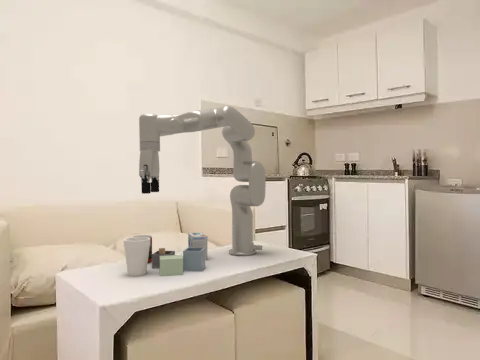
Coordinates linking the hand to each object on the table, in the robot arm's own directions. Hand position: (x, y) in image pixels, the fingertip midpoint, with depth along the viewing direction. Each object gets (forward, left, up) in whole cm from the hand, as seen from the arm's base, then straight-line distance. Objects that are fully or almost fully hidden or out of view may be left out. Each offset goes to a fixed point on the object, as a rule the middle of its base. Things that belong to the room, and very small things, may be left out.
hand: (150, 192), depth 140 cm
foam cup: (+3, +7, -30) cm, 31 cm away
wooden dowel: (-3, -5, -29) cm, 30 cm away
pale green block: (-9, +5, -30) cm, 31 cm away
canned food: (+8, -11, -30) cm, 33 cm away
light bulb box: (-13, -21, -30) cm, 39 cm away
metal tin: (-3, -5, -30) cm, 30 cm away
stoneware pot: (-16, -2, -30) cm, 34 cm away
